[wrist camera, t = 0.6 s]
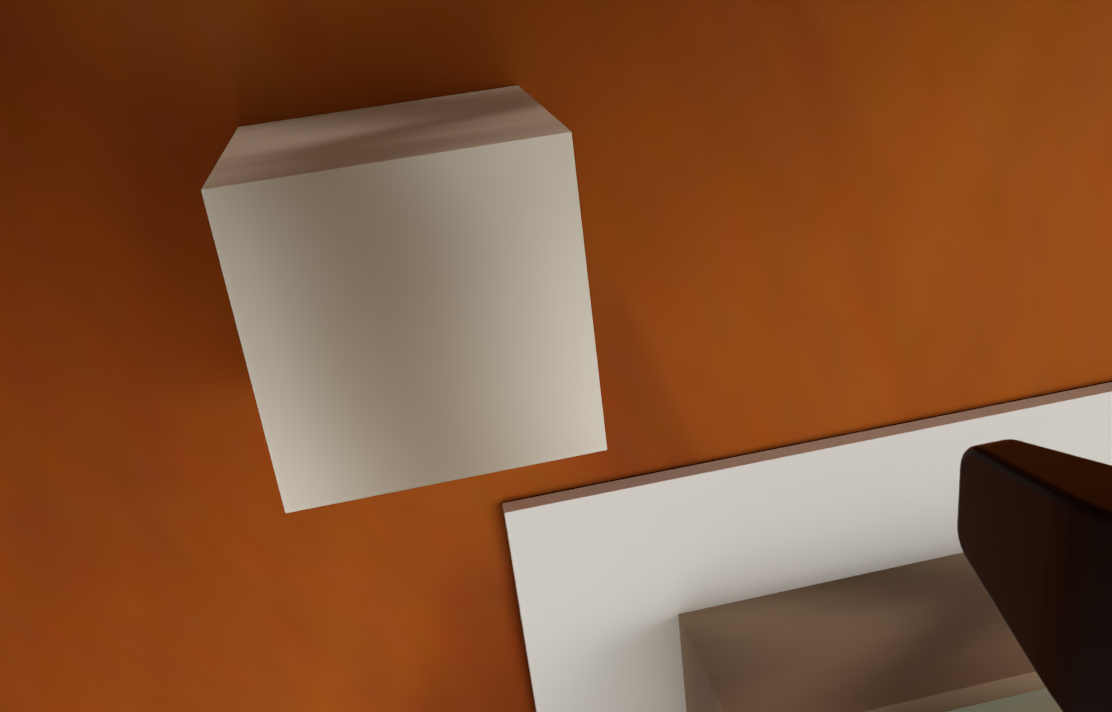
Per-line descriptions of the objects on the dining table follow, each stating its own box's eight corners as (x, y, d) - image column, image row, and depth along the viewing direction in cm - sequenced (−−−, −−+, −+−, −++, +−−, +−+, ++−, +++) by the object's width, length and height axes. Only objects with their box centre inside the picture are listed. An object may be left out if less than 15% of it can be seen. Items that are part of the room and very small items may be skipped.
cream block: (517, 84, 19) (571, 131, 14) (550, 337, 21) (607, 449, 16) (238, 126, 18) (200, 190, 13) (299, 382, 20) (286, 513, 15)
